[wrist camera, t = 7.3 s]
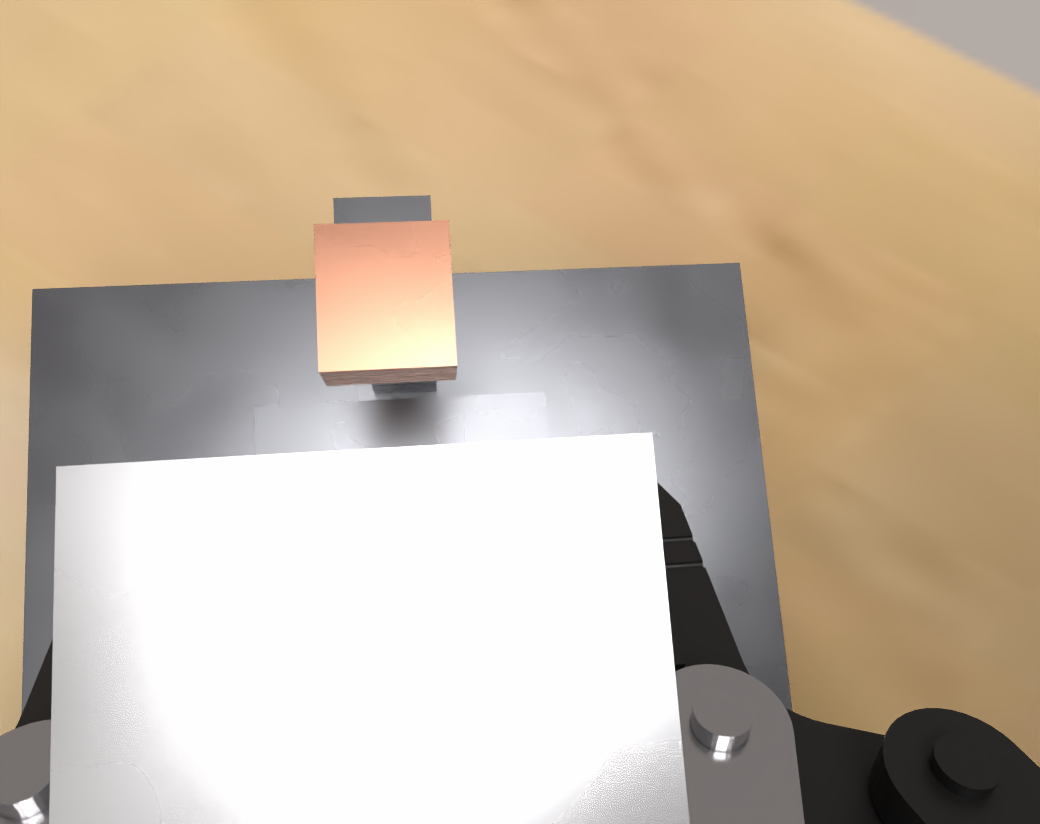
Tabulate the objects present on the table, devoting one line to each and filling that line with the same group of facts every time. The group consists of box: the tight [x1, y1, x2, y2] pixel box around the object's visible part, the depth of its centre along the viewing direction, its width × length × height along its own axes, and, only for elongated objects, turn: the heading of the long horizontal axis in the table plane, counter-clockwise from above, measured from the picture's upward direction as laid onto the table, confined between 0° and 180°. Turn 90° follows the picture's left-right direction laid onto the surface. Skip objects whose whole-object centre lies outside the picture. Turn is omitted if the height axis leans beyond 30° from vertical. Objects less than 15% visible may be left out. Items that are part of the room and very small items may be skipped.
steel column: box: [49, 433, 690, 824], centre depth 11 cm, size 4×4×11 cm
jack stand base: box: [22, 195, 792, 712], centre depth 14 cm, size 14×14×8 cm
